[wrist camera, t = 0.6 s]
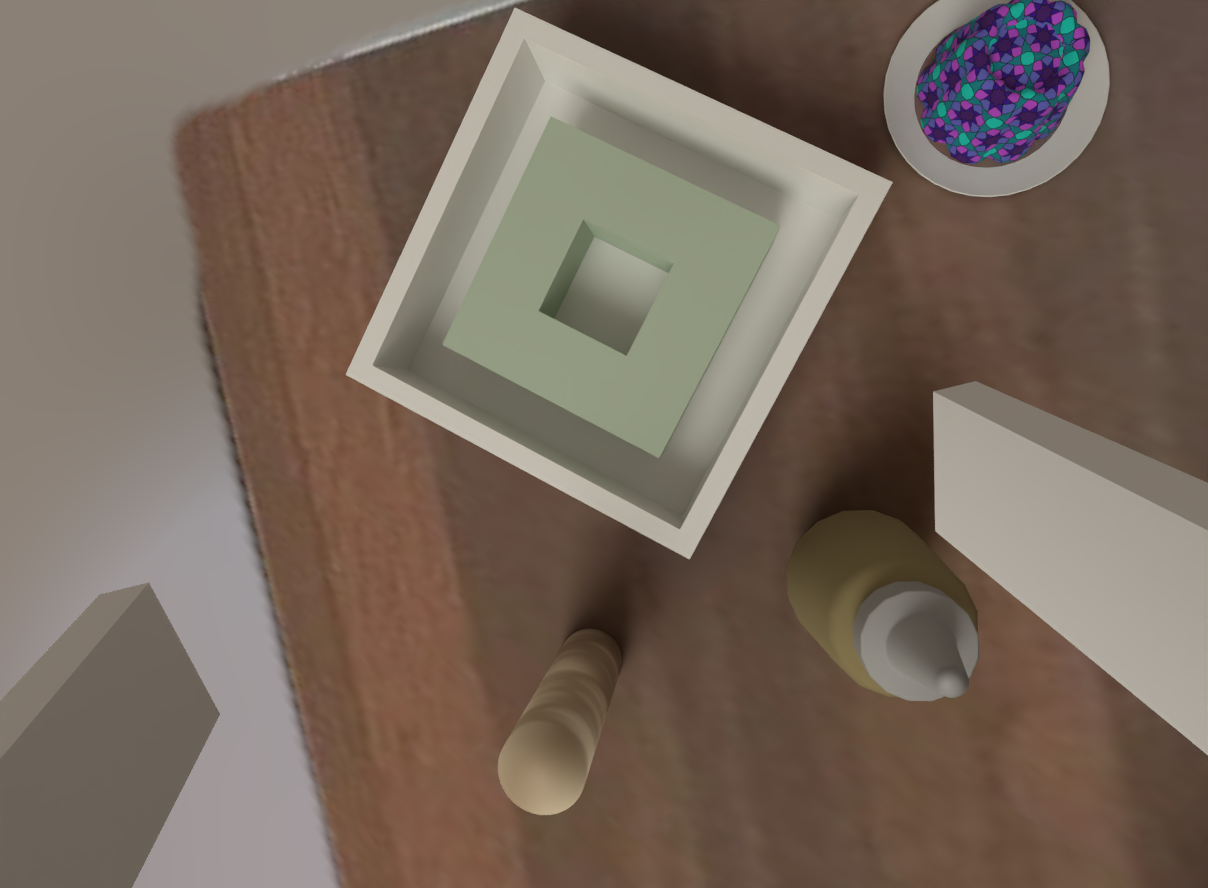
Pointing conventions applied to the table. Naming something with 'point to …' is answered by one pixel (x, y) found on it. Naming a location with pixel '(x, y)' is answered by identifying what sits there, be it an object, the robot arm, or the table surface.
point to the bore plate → (553, 256)
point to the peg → (561, 725)
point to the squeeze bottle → (884, 606)
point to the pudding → (997, 91)
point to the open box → (615, 277)
